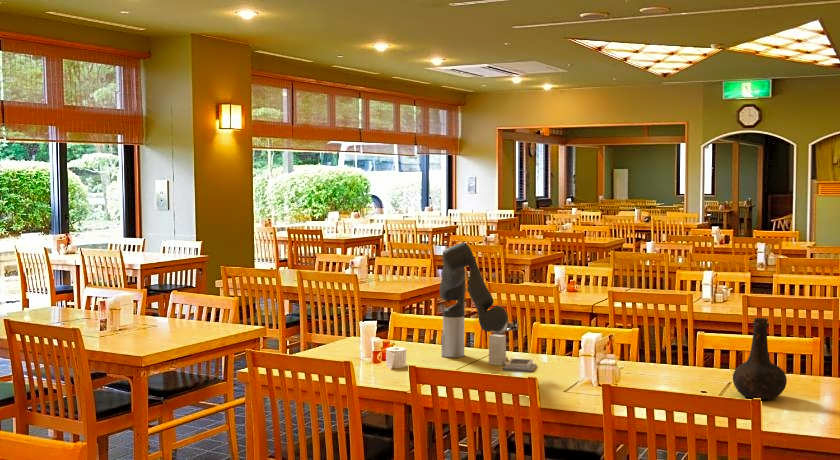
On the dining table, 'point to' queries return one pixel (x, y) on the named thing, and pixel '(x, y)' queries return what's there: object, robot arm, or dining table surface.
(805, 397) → the dining table surface
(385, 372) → the dining table surface
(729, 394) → the dining table surface
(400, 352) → the toilet paper
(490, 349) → the skincare box
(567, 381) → the dining table surface
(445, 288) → the robot arm
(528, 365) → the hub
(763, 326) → the glass bottle
